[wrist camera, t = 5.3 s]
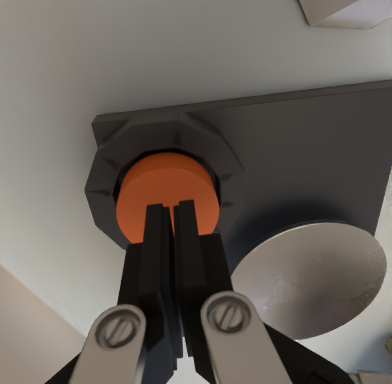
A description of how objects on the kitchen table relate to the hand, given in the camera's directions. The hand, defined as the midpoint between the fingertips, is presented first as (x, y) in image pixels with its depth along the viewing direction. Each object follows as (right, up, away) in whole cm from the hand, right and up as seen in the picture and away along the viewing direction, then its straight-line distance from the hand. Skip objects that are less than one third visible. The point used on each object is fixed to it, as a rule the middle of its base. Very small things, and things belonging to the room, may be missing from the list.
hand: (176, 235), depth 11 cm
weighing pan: (+7, -4, +7) cm, 11 cm away
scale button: (-1, +1, +3) cm, 4 cm away
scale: (+4, -1, +8) cm, 9 cm away
